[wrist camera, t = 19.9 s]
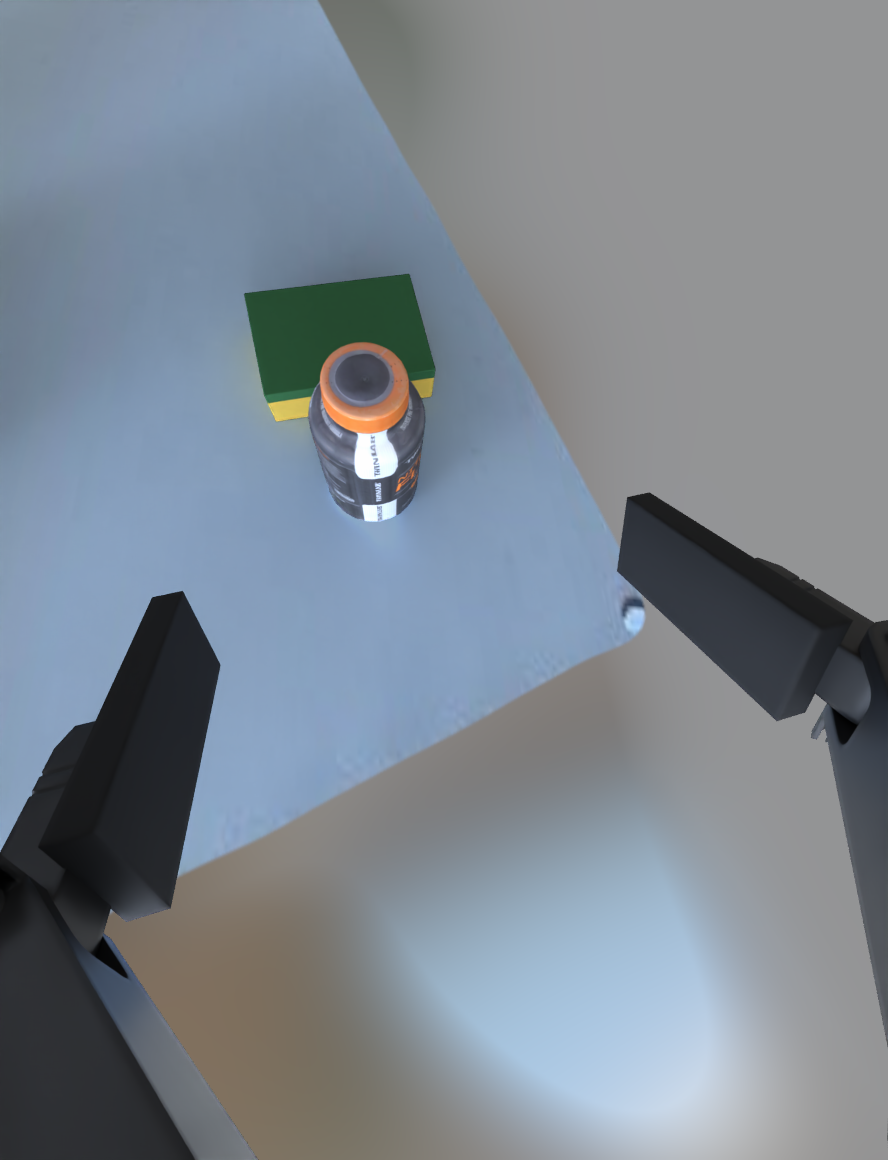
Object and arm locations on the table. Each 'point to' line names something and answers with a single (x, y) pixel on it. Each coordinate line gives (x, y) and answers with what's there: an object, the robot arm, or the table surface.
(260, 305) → the sponge
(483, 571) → the table surface
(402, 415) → the orange-lidded supplement jar
